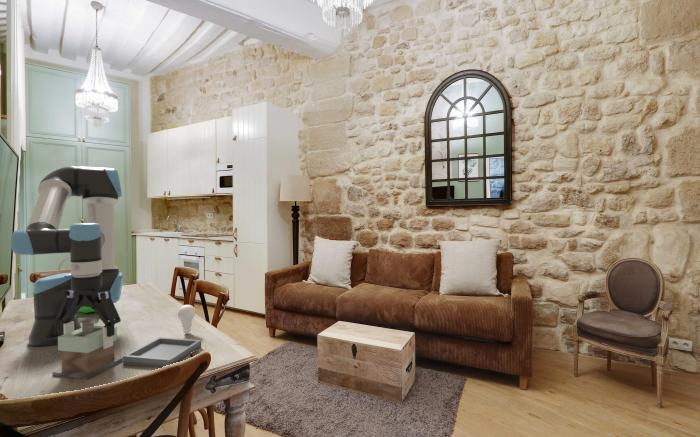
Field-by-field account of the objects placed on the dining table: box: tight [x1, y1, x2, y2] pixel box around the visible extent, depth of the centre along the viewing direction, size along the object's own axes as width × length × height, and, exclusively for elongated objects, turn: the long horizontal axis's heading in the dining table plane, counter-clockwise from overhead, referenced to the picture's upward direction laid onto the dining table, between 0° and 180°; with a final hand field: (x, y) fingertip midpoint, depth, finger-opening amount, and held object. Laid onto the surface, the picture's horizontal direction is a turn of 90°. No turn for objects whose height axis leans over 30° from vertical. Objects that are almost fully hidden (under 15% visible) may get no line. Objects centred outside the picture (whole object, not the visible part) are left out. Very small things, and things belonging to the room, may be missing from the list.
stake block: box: [52, 317, 123, 380], centre depth 106 cm, size 12×12×15 cm
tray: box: [122, 336, 202, 369], centre depth 115 cm, size 16×16×2 cm
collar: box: [57, 325, 118, 353], centre depth 106 cm, size 10×10×4 cm
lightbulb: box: [177, 304, 196, 335], centre depth 135 cm, size 6×6×11 cm
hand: (88, 345), depth 106 cm, fingers open, 13 cm apart
